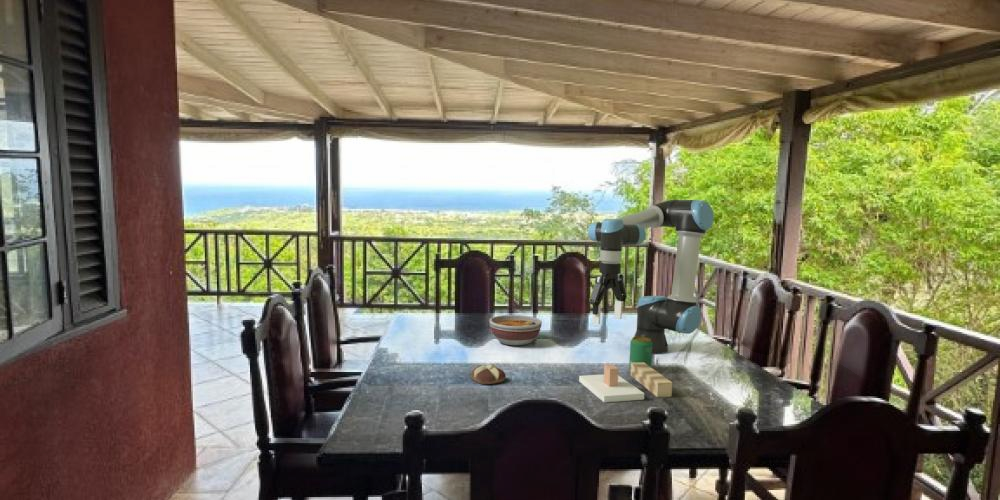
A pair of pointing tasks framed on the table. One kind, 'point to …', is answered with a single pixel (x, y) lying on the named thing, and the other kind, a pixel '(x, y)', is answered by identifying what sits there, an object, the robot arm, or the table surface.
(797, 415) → the table surface
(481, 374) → the bread
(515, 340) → the bowl
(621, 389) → the fulcrum
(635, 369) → the oak bar
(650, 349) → the beverage can
